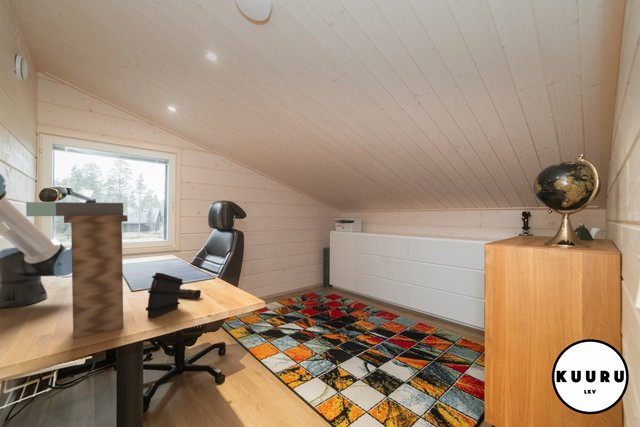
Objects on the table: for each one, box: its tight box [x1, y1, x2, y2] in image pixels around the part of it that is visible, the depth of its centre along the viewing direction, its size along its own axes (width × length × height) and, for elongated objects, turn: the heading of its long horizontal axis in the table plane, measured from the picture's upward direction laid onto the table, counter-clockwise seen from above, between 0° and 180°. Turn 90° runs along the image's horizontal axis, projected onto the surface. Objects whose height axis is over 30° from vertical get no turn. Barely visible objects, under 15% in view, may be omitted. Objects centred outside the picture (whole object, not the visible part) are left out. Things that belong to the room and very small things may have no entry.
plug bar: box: [25, 201, 124, 217], centre depth 85 cm, size 22×4×4 cm, turn 127°
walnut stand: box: [63, 214, 129, 339], centre depth 88 cm, size 15×10×36 cm, turn 127°
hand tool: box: [178, 288, 202, 300], centre depth 119 cm, size 19×4×5 cm, turn 72°
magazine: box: [145, 272, 184, 319], centre depth 101 cm, size 4×13×15 cm, turn 162°
